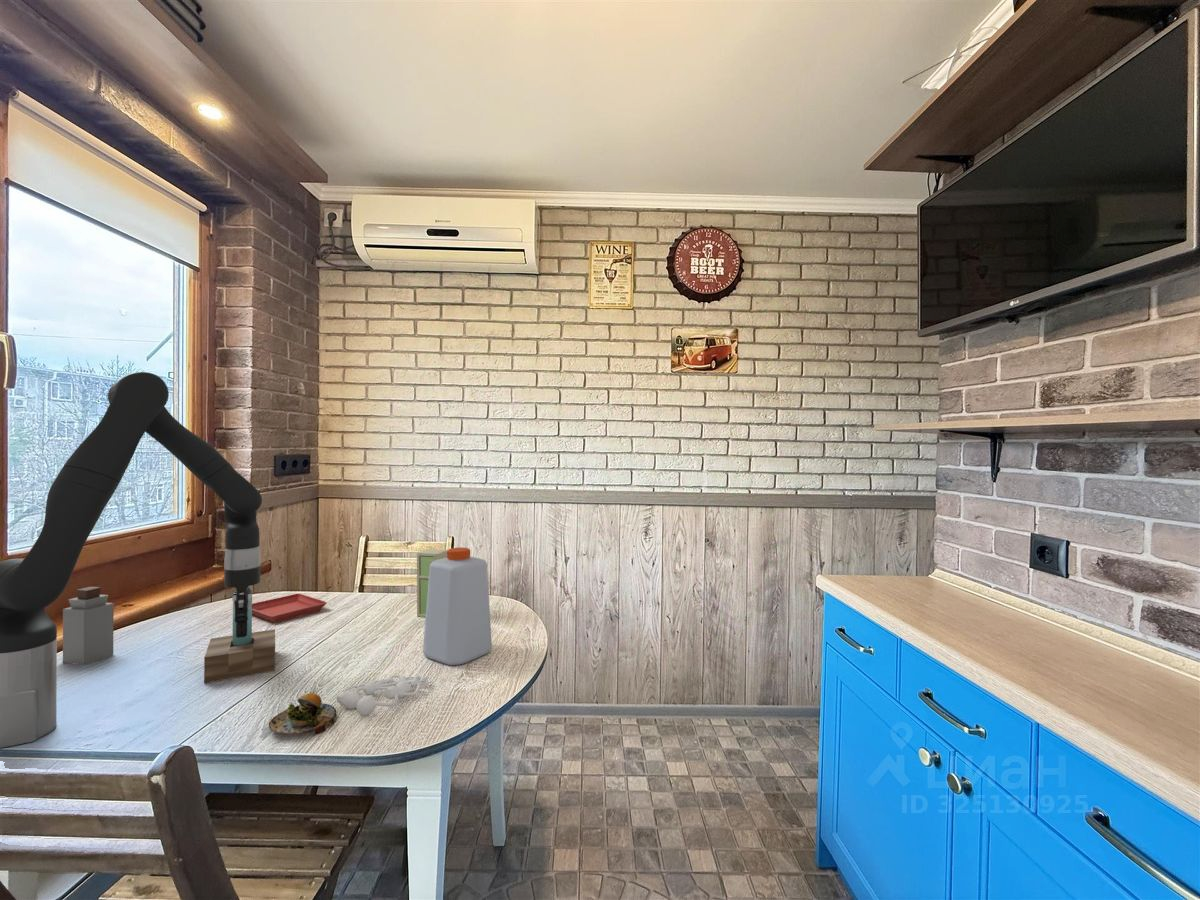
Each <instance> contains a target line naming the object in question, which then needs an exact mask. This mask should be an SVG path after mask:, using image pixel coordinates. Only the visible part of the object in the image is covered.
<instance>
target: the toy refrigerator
mask: <svg viewBox="0 0 1200 900" xmlns="http://www.w3.org/2000/svg"><path fill="white" fill-rule="evenodd" d="M448 550H449V549H440V548H438V549H437V548H427V549H424V550H420V551H418V552H416V616H417V617H420V618H422V617H423V618H426V606H427V594H428V581H429V569H430V564H431V563H432V562H433V561H435V560H439V559H443V558H447V551H448Z"/></svg>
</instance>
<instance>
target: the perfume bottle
mask: <svg viewBox="0 0 1200 900" xmlns="http://www.w3.org/2000/svg"><path fill="white" fill-rule="evenodd" d="M101 589H102V587H101V586H88V587H83V588H79V589H76V596H77V597H73V598H69V599H68V602H69V605H70V606H69V607H66V608H62V663H64V662H68V663H67V664H72V663H75V665H80V664H81V665H82V666H84V665H88V664H90V663H91V664H92V663H94V662H96V661H99V660H103V659H105V658H107V656H108V657H110V655H111V656H113V655H114V622H115V621H114V611H115V610H114V607H115V606H114V605H115V603H114V602H108V598H109V594H101ZM93 661H94V662H93ZM87 663H88V664H87Z"/></svg>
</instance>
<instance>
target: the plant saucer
mask: <svg viewBox="0 0 1200 900" xmlns="http://www.w3.org/2000/svg"><path fill="white" fill-rule="evenodd" d="M327 603H328V602H327V601H325V600H321V599H318V598H315V597H312V596H309V595H305V594H302V593H294V594H290V595H285V596H280V597H276V598H272V599H267V600H263V601H258V602H252V616H255V617H258V618H261V619H264V620H267V621H268V622H271V623H278V622H281V621H285V620H290V619H293V618H296V617H297V618H298V617H301V616H305V615H309V614H313V613H316V612H320V611H321V610H322V609H323V608H324V607H325V606H326V604H327Z"/></svg>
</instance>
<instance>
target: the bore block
mask: <svg viewBox="0 0 1200 900" xmlns="http://www.w3.org/2000/svg"><path fill="white" fill-rule="evenodd" d="M232 640H233V634H232V635H227V636H220V637H212V638H210V640H209V643H208V646H207V648H206V651H205V655H204V657H203V658H204V659H203V660H204V662H203V665H204V666H203V667H204V668H203V669H204V673H203V674H204V675H203V679H204V682H203V683H204V684H207V683H214V682H219V681H220V682H221V681H225V680H230V679H235V678H241V677H243V678H244V677H247V676H254V675H259V674H264V673H270V672H275V671H276V669H275V668H276V629H275V628H274V629H268V630H267V629H266V630H260V631H252V644H249V645H242V646H236V647H232Z"/></svg>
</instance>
